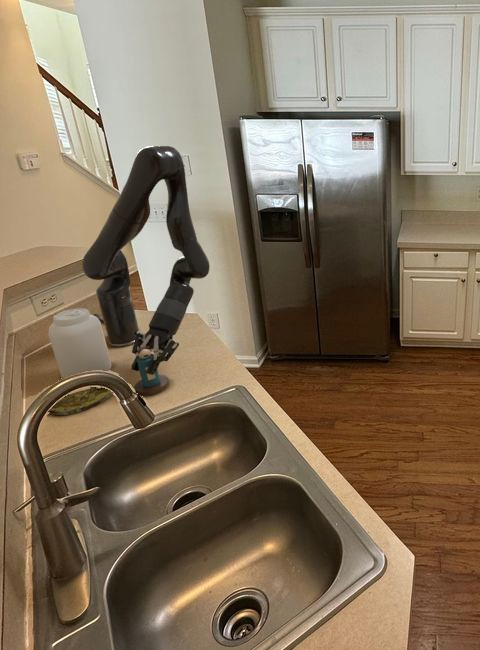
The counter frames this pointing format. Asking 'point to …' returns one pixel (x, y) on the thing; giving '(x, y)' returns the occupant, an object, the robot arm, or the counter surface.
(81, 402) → the mottled olive oval disc
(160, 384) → the stand
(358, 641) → the counter surface
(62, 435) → the counter surface
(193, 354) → the counter surface
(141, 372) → the teal pump bottle
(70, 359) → the white plastic jar
